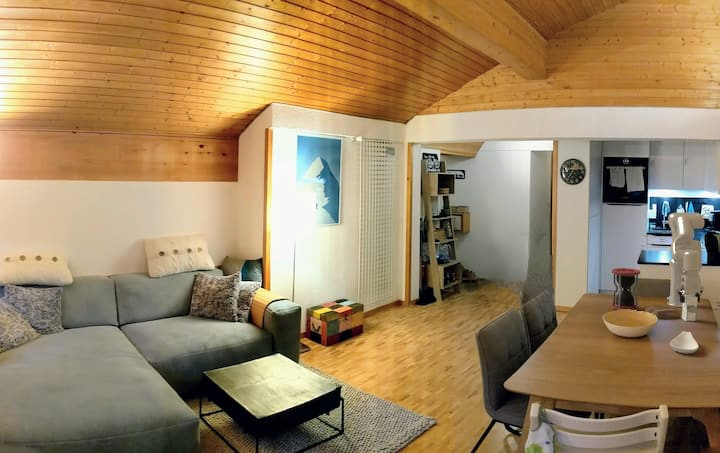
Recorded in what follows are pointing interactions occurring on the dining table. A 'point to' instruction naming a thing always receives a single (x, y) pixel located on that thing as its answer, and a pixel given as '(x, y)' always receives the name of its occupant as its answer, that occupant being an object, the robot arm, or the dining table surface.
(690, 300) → the syrup box
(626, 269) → the hourglass
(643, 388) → the dining table surface
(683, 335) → the spoon rest
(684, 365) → the dining table surface
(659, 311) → the walnut block
